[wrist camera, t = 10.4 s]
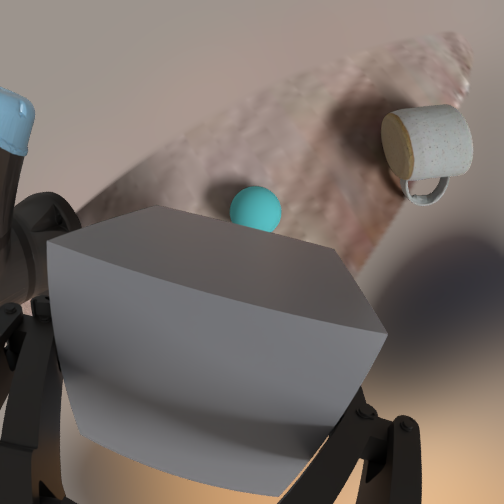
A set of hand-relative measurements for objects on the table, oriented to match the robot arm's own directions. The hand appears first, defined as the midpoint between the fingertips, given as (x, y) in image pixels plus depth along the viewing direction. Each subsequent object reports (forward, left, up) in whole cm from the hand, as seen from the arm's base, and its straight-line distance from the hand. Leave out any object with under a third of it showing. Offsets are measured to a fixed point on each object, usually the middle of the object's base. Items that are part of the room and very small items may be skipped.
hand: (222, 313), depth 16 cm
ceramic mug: (+16, +14, -16) cm, 27 cm away
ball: (0, +4, -13) cm, 14 cm away
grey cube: (0, 0, -1) cm, 1 cm away
